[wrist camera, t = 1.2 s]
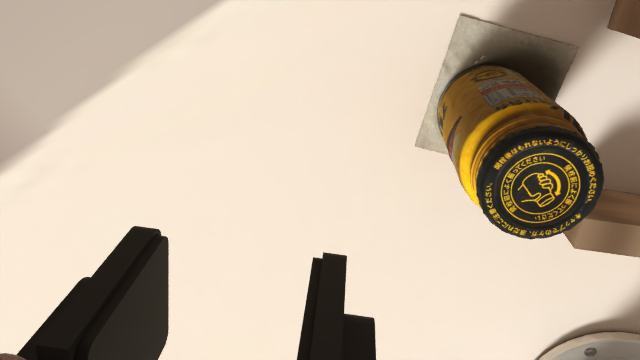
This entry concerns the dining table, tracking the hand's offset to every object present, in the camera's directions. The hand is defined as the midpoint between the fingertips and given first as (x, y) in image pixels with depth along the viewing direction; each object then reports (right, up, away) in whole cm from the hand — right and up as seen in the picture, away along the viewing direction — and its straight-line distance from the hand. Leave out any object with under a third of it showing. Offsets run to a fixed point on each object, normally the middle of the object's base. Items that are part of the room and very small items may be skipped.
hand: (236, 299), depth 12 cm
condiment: (+13, +8, +21) cm, 26 cm away
